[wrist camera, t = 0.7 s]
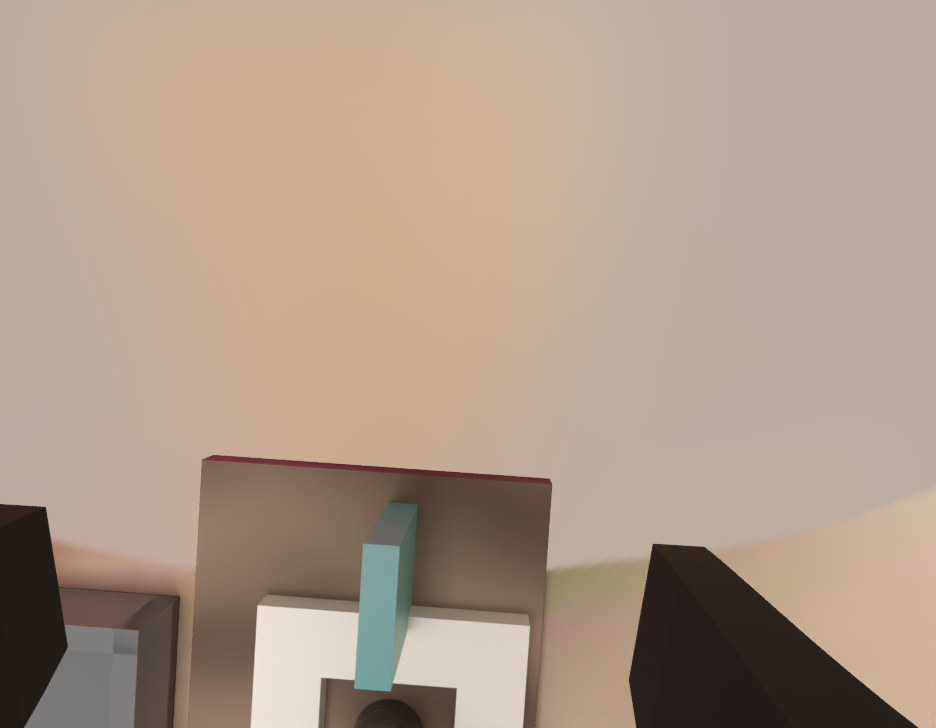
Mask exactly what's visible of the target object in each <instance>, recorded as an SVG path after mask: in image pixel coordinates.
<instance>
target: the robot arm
mask: <svg viewBox="0 0 936 728" xmlns="http://www.w3.org/2000/svg"><path fill="white" fill-rule="evenodd" d="M67 648H68V643H67V637H66V631H65V625H64V618H63V612H62V606H61V600H60V593H59V587H58V581H57V575H56V568H55V562H54V556H53V549H52V543H51V537H50V531H49V524H48V518H47V512H46V507H37V506H21V505H4V504H0V728H24V727H25V726H26V724H27V722H28V720H29V719H30V717H31V715H32V713H33V712H34V710H35V708H36V706H37V705H38V703H39V701H40V699H41V697H42V696H43V694H44V692H45V690H46V688H47V686H48V685H49V683H50V681H51V679H52V677H53V675H54V673H55V671H56V669H57V667H58V665H59V664H60V662H61V660H62V658H63V656H64V654H65V652H66V650H67ZM629 683H630V690H631V696H632V703H633V709H634V715H635V722H636V728H918V727H917V726H915V725H914V724H913V723H912V722H910V721H909V720H908V719H906V718H905V717H904V716H903V715H901V714H900V713H899V712H897V711H896V710H895V709H894V708H892V707H891V706H890V705H888V704H887V703H886V702H885V701H884V700H882V699H881V698H880V697H879V696H877V695H876V694H875V693H874V692H873V691H871V690H870V689H869V688H868V687H866V686H865V685H864V684H863V683H862V682H860V681H859V680H858V679H857V678H856V677H854V676H853V675H852V674H851V673H850V672H848V671H847V670H846V669H845V668H844V667H842V666H841V665H840V664H839V663H838V662H836V661H835V660H834V659H833V658H832V657H831V656H829V655H828V654H827V653H826V652H825V651H824V650H822V649H821V648H820V647H819V646H818V645H817V644H815V643H814V642H813V641H812V640H811V639H810V638H809V637H807V636H806V635H805V634H804V633H803V632H802V631H801V630H799V629H798V628H797V627H796V626H795V625H794V624H793V623H791V622H790V621H789V620H788V619H787V618H786V617H785V616H783V615H782V614H781V613H780V612H779V611H778V610H777V609H776V608H774V607H773V606H772V605H771V604H770V603H769V602H768V601H767V600H765V599H764V598H763V597H762V596H761V595H760V594H759V593H758V592H756V591H755V590H754V589H753V588H752V587H751V586H750V585H749V584H747V583H746V582H745V581H744V580H743V579H742V578H741V577H739V576H738V575H737V574H736V573H735V572H734V571H733V570H731V569H730V568H729V567H728V566H727V565H726V564H725V563H723V562H722V561H721V560H720V559H719V558H717V557H716V556H715V555H714V554H712V553H711V552H710V551H709V550H707V549H706V548H705V547H697V546H681V545H680V546H679V545H663V544H653V546H652V552H651V558H650V563H649V569H648V575H647V580H646V586H645V592H644V597H643V603H642V609H641V615H640V620H639V626H638V632H637V637H636V643H635V649H634V654H633V660H632V666H631V671H630V677H629Z"/></svg>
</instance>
